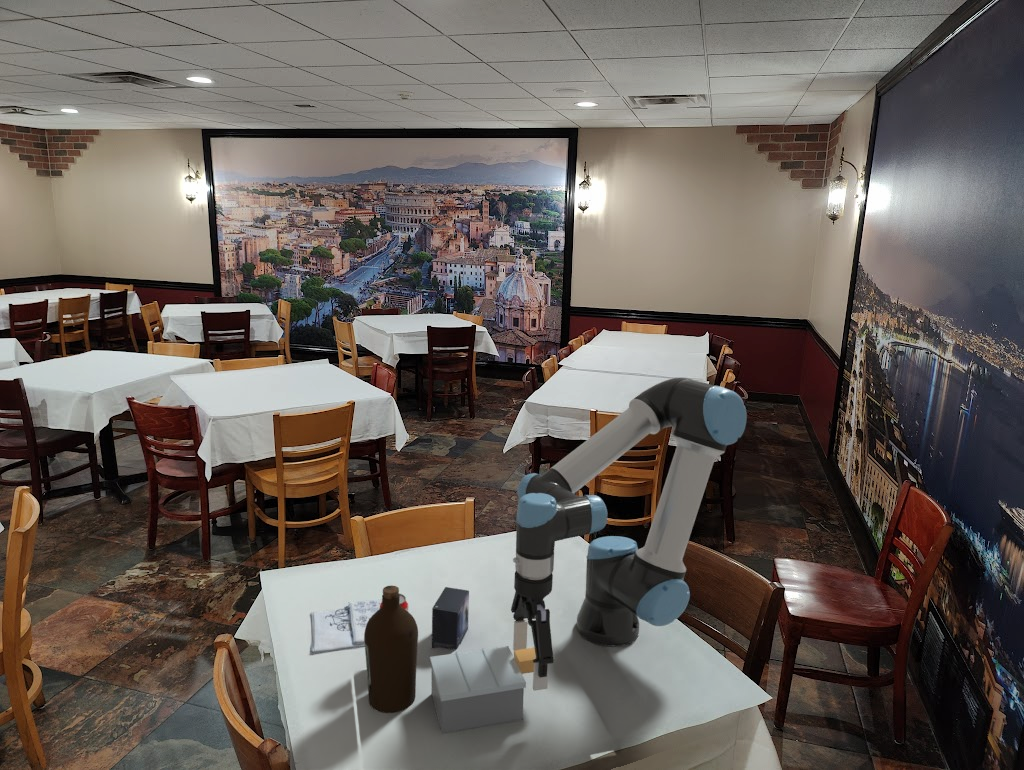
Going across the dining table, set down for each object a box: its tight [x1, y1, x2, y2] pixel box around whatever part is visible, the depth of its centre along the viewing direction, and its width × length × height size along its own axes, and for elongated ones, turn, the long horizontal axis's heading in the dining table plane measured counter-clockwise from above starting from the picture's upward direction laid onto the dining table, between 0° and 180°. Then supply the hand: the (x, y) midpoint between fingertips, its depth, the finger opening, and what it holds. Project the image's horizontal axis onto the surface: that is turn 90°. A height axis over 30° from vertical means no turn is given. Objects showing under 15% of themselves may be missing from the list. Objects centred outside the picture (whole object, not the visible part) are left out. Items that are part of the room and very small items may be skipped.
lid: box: [429, 645, 536, 701], centre depth 140 cm, size 23×13×4 cm, turn 106°
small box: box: [430, 586, 470, 651], centre depth 164 cm, size 11×6×10 cm, turn 168°
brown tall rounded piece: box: [364, 585, 419, 714], centre depth 140 cm, size 11×11×25 cm
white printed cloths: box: [309, 598, 382, 655], centre depth 169 cm, size 19×20×2 cm
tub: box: [431, 671, 525, 734], centre depth 140 cm, size 16×12×8 cm
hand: (529, 668), depth 142 cm, fingers open, 13 cm apart
